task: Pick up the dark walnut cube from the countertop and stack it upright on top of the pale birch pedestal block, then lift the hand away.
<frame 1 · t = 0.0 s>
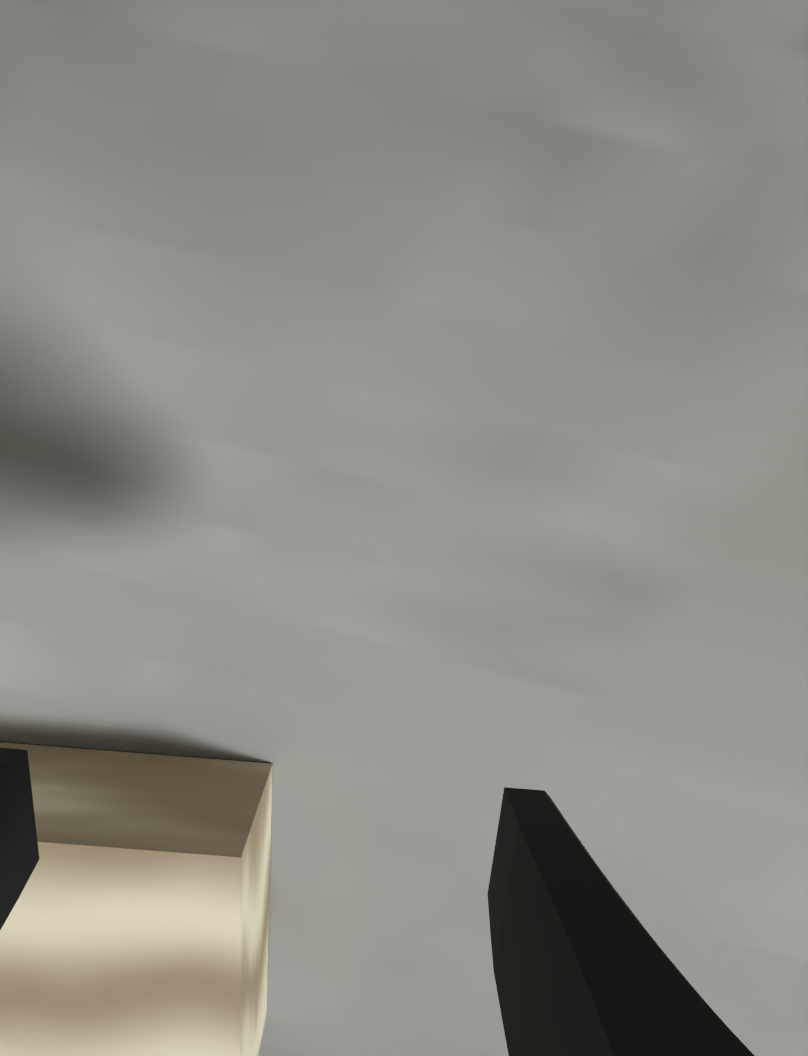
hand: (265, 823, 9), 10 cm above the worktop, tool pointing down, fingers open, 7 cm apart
birch pedestal: (107, 887, 23), on the worktop
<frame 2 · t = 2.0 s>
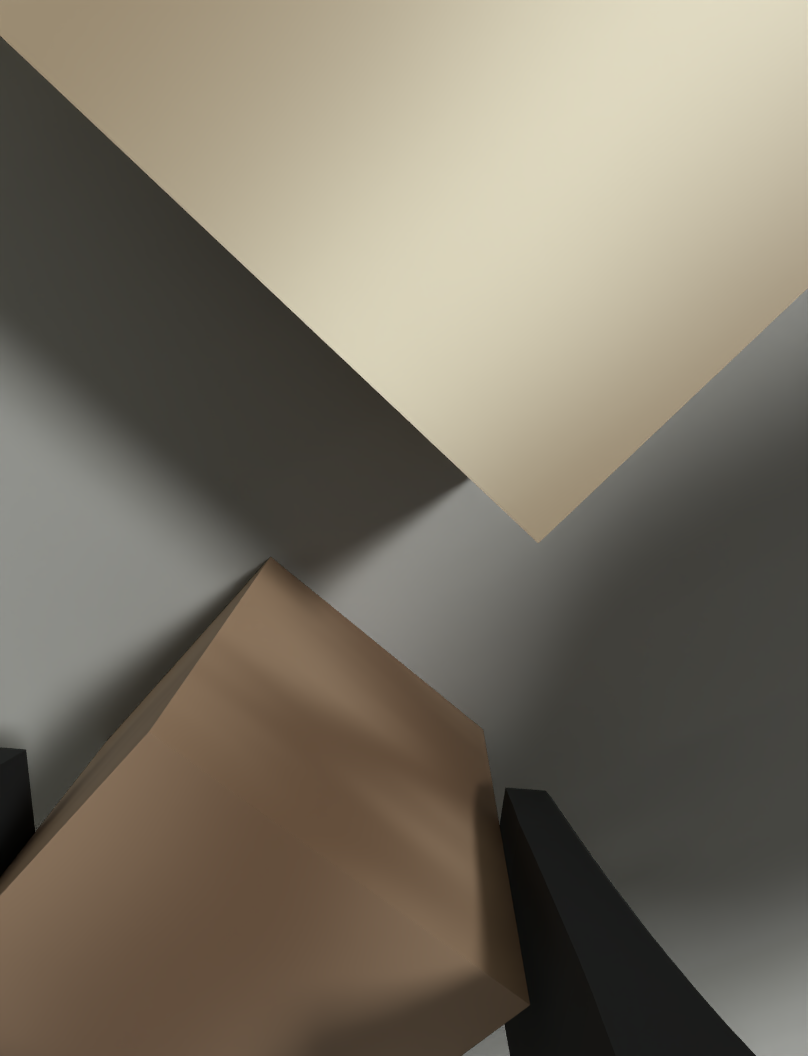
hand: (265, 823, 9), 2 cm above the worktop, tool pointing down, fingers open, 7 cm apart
walnut cube: (293, 731, 11), on the worktop, touching gripper
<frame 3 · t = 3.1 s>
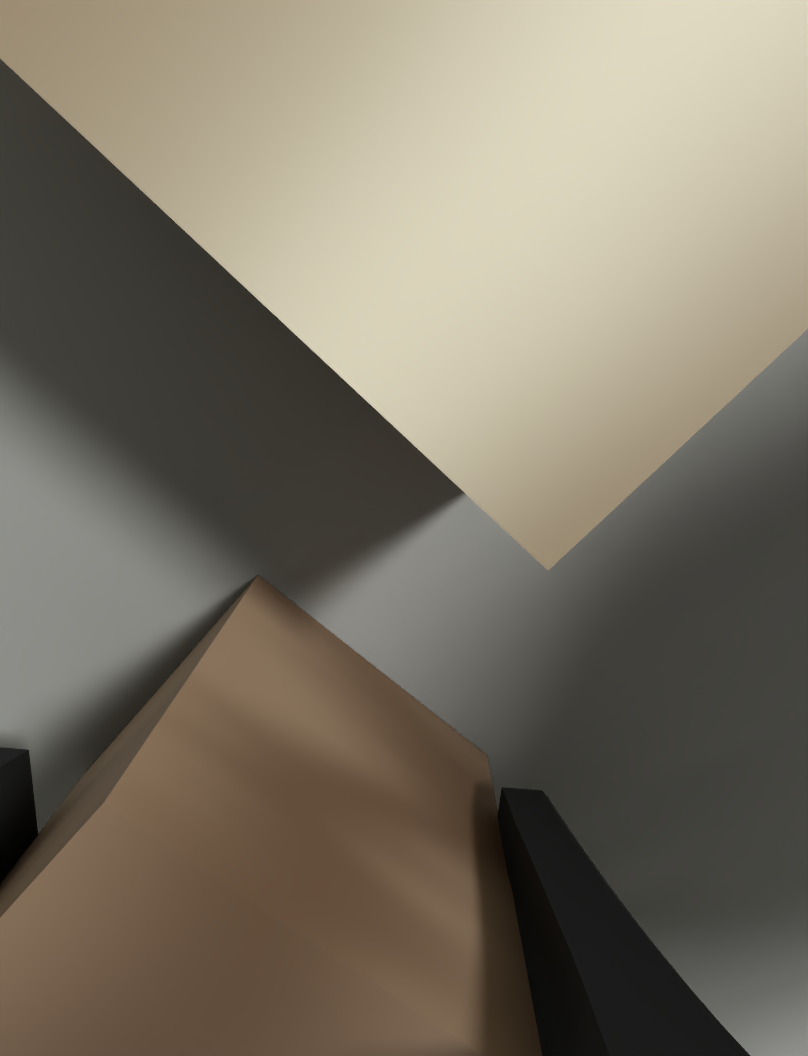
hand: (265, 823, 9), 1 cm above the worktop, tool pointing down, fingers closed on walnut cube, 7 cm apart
walnut cube: (284, 764, 11), on the worktop, touching gripper
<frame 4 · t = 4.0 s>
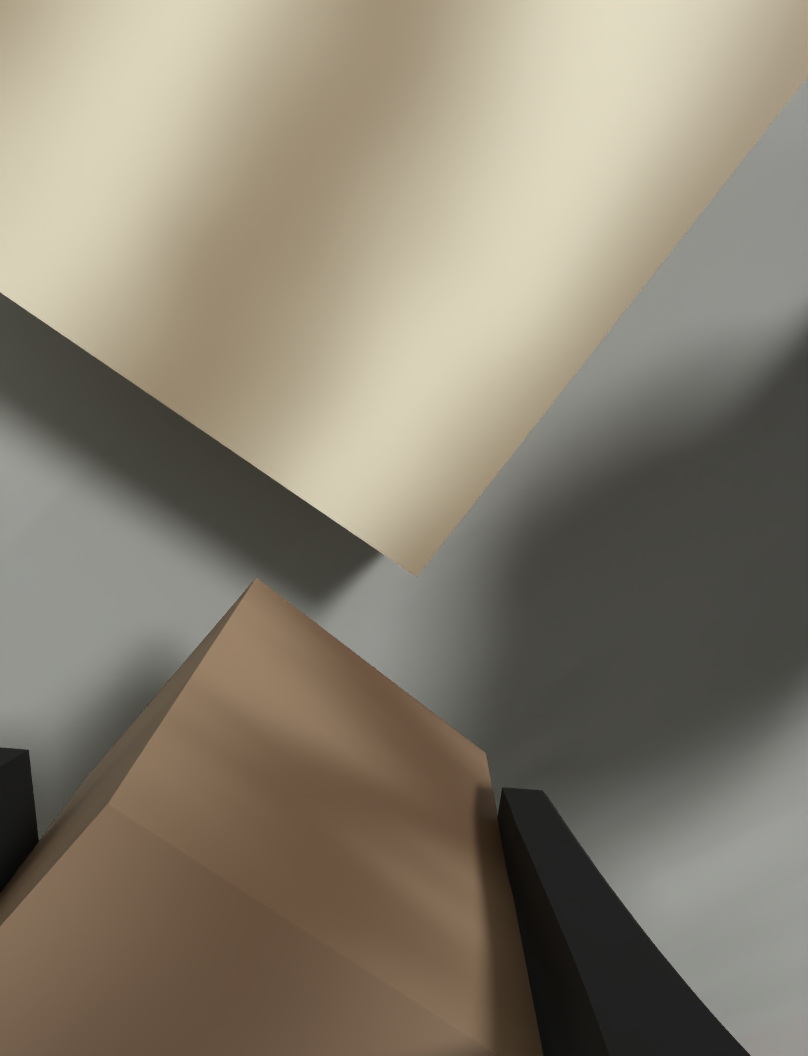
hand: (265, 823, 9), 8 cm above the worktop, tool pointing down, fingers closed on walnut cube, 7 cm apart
walnut cube: (284, 764, 11), point 7 cm above the worktop, touching gripper
birch pedestal: (359, 177, 14), on the worktop
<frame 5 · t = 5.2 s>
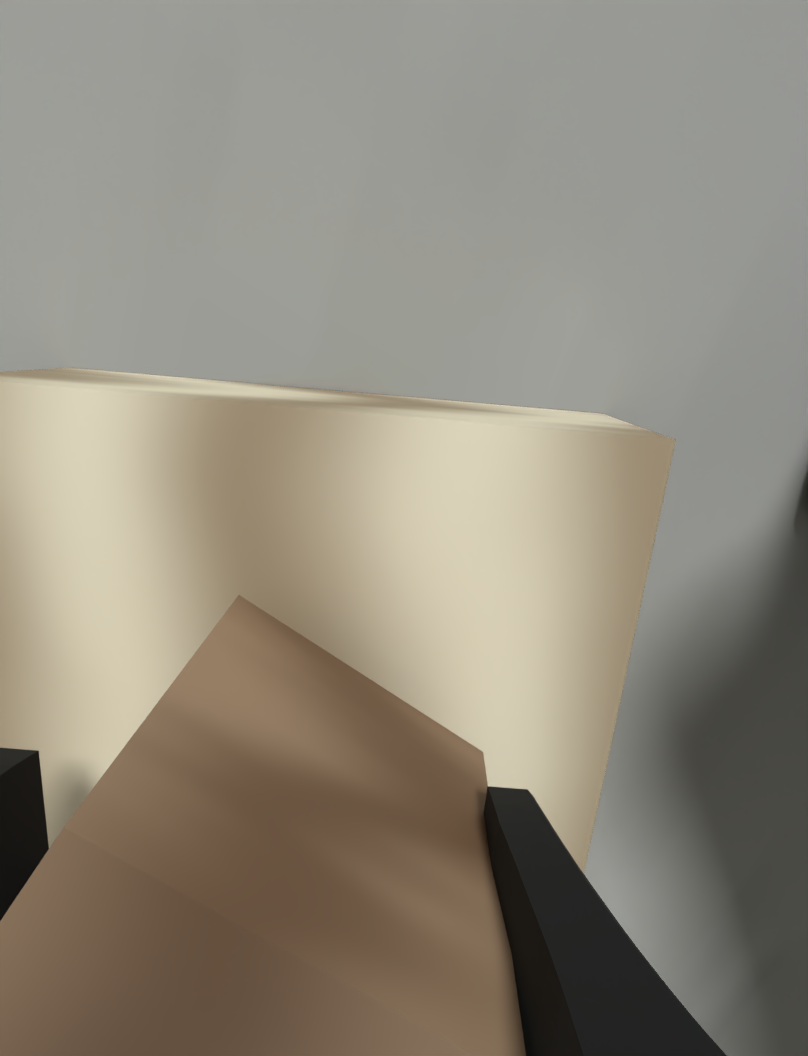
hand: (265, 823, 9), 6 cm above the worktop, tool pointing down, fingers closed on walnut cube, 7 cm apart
walnut cube: (286, 775, 11), point 5 cm above the worktop, touching gripper
birch pedestal: (324, 633, 15), on the worktop
when the fingers open (6 cm above the worktop, at t = 5.6 s): walnut cube stays where it is, resting on birch pedestal.
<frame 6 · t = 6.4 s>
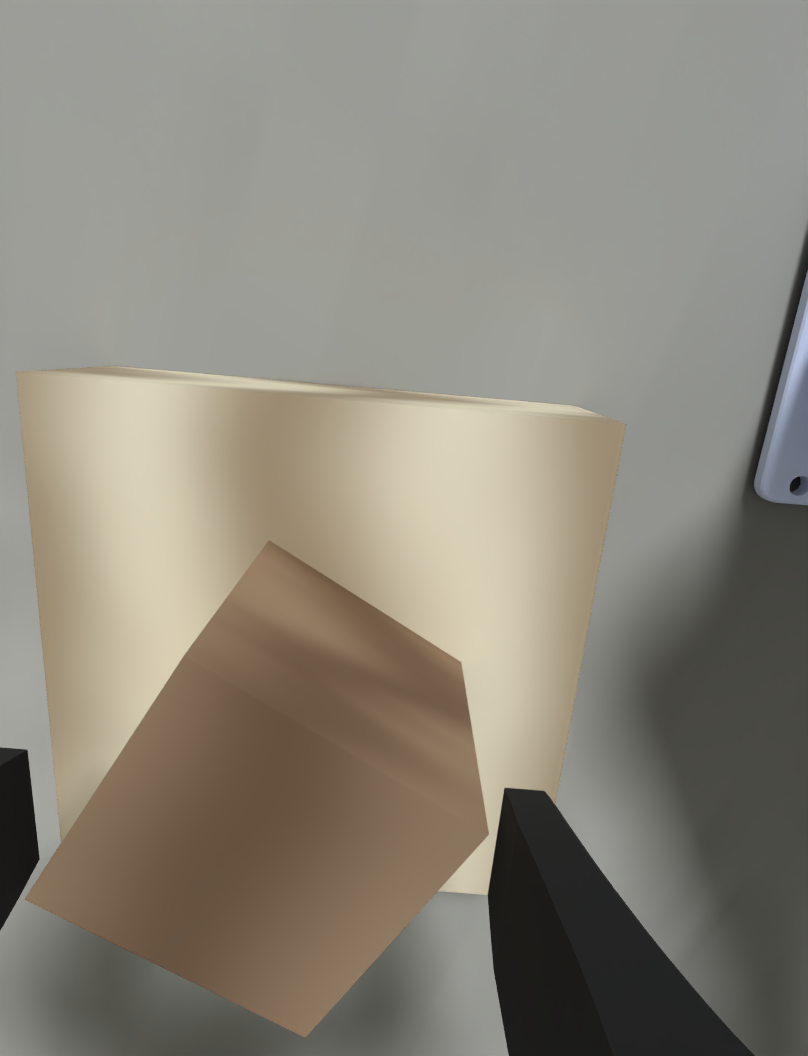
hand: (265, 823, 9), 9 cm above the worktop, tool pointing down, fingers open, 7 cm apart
walnut cube: (306, 686, 14), point 4 cm above the worktop, touching birch pedestal
birch pedestal: (332, 599, 17), on the worktop
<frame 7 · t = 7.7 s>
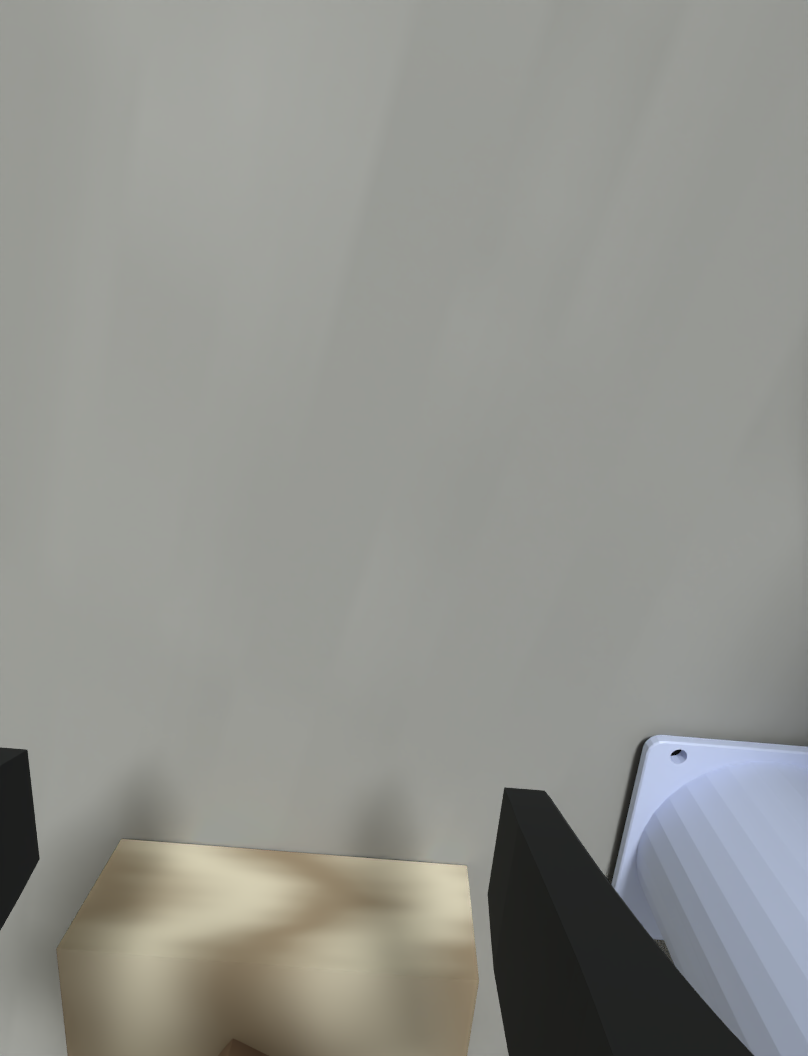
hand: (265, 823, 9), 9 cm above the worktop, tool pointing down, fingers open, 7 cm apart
birch pedestal: (289, 980, 23), on the worktop
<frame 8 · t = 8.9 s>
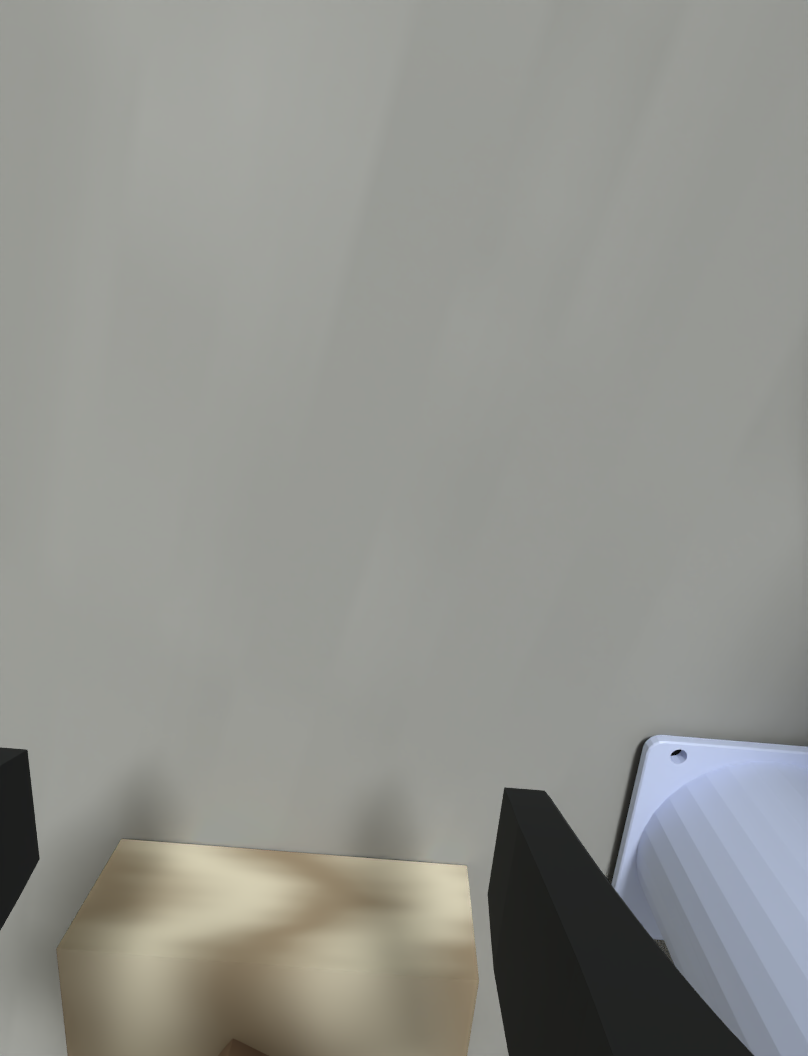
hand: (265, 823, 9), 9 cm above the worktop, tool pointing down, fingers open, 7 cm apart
birch pedestal: (289, 980, 23), on the worktop
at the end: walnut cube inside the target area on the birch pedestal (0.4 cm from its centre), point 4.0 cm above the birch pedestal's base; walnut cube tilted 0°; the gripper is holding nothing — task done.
